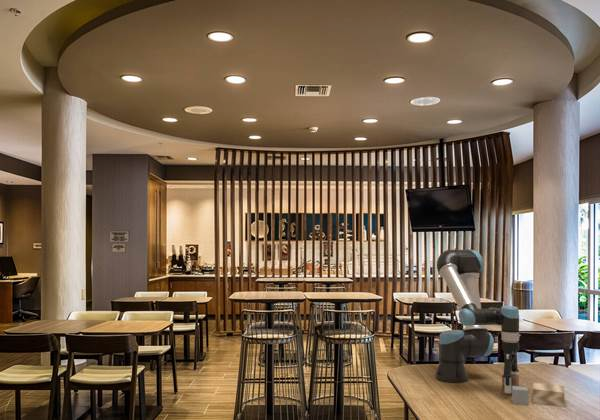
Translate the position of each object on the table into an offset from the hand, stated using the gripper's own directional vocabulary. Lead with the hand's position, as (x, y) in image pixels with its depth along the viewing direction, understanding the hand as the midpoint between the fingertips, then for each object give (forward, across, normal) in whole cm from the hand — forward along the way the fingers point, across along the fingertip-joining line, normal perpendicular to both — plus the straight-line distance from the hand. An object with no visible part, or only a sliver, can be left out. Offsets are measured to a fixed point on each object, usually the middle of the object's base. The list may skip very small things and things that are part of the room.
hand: (510, 389), depth 253 cm
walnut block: (+2, 0, 0) cm, 2 cm away
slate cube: (+2, -12, -6) cm, 13 cm away
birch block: (+2, -3, -16) cm, 16 cm away
